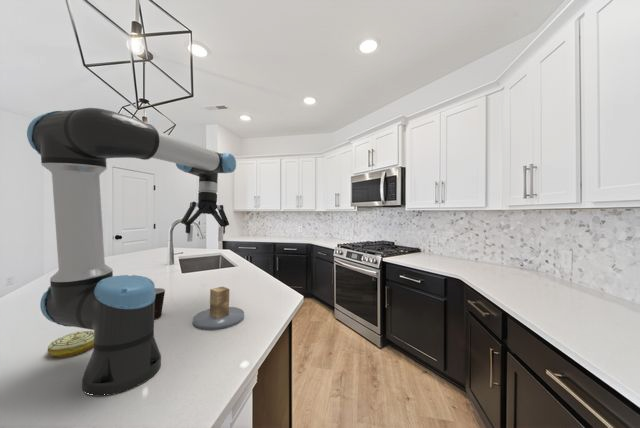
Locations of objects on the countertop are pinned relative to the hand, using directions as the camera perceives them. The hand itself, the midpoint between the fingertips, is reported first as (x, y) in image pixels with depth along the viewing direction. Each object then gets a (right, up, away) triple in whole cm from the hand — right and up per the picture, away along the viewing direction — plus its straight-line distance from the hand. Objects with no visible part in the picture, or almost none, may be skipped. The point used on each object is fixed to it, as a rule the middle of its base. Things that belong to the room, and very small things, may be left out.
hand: (205, 241), depth 106 cm
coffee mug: (-17, -28, -11) cm, 35 cm away
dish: (+11, -28, -12) cm, 33 cm away
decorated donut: (-23, -28, -34) cm, 49 cm away
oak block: (+11, -27, -12) cm, 31 cm away
